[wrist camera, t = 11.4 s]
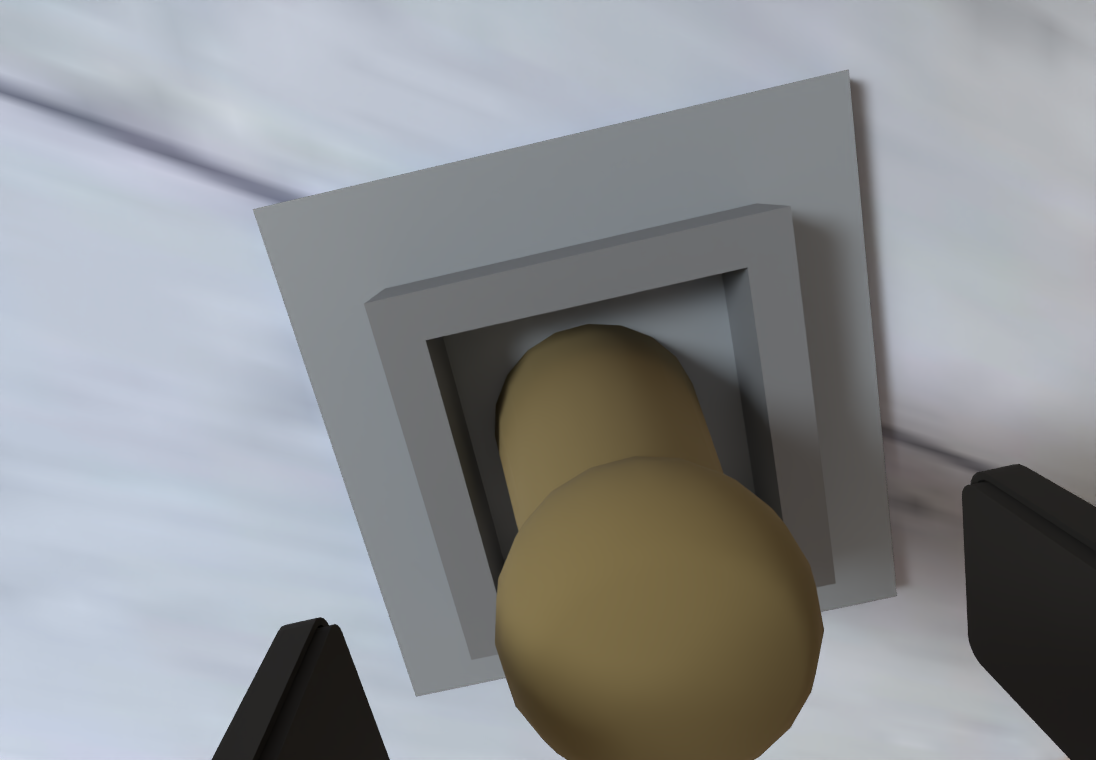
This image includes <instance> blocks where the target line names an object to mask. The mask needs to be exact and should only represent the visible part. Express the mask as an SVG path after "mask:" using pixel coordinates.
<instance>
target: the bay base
mask: <svg viewBox="0 0 1096 760" xmlns="http://www.w3.org/2000/svg"><path fill="white" fill-rule="evenodd" d="M253 211H254V214H255V217H256V220H257V223H258V226H259V229H260V232H261V235H262V238H263V241H264V244H265V247H266V250H267V253H268V256H269V259H270V262H271V265H272V268H273V271H274V274H275V277H276V280H277V283H278V286H279V289H280V292H281V295H282V298H283V301H284V304H285V307H286V310H287V313H288V316H289V319H290V322H291V325H292V328H293V331H294V334H295V337H296V340H297V343H298V346H299V349H300V352H301V355H302V358H303V361H304V364H305V367H306V370H307V373H308V376H309V378H310V381H311V384H312V387H313V390H314V393H315V396H316V399H317V402H318V405H319V408H320V411H321V414H322V417H323V420H324V423H325V426H326V429H327V432H328V435H329V438H330V441H331V444H332V447H333V450H334V453H335V456H336V459H337V462H338V465H339V468H340V471H341V474H342V477H343V480H344V483H345V486H346V489H347V492H348V495H349V498H350V501H351V504H352V507H353V510H354V513H355V516H356V519H357V522H358V525H359V528H360V531H361V534H362V537H363V540H364V543H365V546H366V549H367V552H368V555H369V558H370V561H371V564H372V567H373V570H374V572H375V575H376V578H377V581H378V584H379V587H380V590H381V593H382V596H383V599H384V602H385V605H386V608H387V611H388V614H389V617H390V620H391V623H392V626H393V629H394V632H395V635H396V638H397V641H398V644H399V647H400V650H401V653H402V656H403V659H404V662H405V665H406V668H407V671H408V674H409V677H410V680H411V683H412V686H413V689H414V692H415V695H416V697H417V696H421V695H426V694H431V693H436V692H440V691H445V690H450V689H455V688H460V687H464V686H469V685H474V684H479V683H484V682H488V681H493V680H498V679H503V678H506V677H505V674H504V671H503V668H502V665H501V662H500V658H499V655H498V652H497V649H496V646H495V624H496V598H497V588H498V578H499V576H500V573H501V571H502V568H503V566H504V564H505V561H506V559H507V556H508V554H509V551H510V549H511V546H512V544H513V542H514V539H515V537H516V535H517V533H518V527H517V523H516V519H515V515H514V511H513V507H512V503H511V499H510V495H509V491H508V487H507V483H506V479H505V475H504V471H503V467H502V463H501V459H500V455H499V451H498V447H497V443H496V439H495V411H496V403H497V400H498V398H499V395H500V392H501V390H502V387H503V384H504V382H505V379H506V377H507V375H508V374H509V372H510V371H511V370H512V369H513V367H514V366H515V365H516V364H517V363H518V361H519V360H520V359H521V358H522V356H523V355H524V354H525V353H526V352H527V350H529V349H531V348H532V347H534V346H535V345H537V344H538V343H540V342H541V341H543V340H545V339H546V338H548V337H549V336H551V335H552V334H554V333H556V332H559V331H563V330H567V329H570V328H574V327H578V326H581V325H585V324H603V325H621V326H624V327H627V328H629V329H632V330H635V331H637V332H640V333H643V334H645V335H648V336H651V337H652V338H654V339H655V340H656V341H657V342H659V343H660V344H661V345H662V346H663V347H665V348H666V349H667V350H668V351H670V352H671V353H672V354H673V355H674V356H676V357H677V359H678V361H679V362H680V364H681V365H682V367H683V369H684V370H685V372H686V374H687V375H688V377H689V378H690V380H691V382H692V383H693V386H694V389H695V392H696V395H697V398H698V401H699V404H700V407H701V409H702V412H703V415H704V418H705V421H706V424H707V427H708V430H709V433H710V436H711V438H712V441H713V444H714V447H715V450H716V453H717V456H718V459H719V462H720V464H721V467H722V470H723V473H724V474H725V475H727V476H729V477H731V478H733V479H735V480H737V481H738V482H739V483H741V484H742V485H743V486H744V487H746V488H747V489H748V490H750V491H751V492H752V493H753V494H755V495H756V496H757V497H758V498H760V499H761V500H762V501H764V502H765V503H766V504H767V505H769V506H770V507H771V508H772V509H773V510H774V511H775V512H776V514H777V515H778V516H779V517H780V519H781V520H782V521H783V522H784V524H785V525H786V526H787V528H788V529H789V531H790V533H791V534H792V536H793V538H794V539H795V541H796V542H797V544H798V546H799V547H800V549H801V551H802V552H803V554H804V555H805V557H806V559H807V560H808V562H809V564H810V566H811V570H812V574H813V577H814V581H815V584H816V588H817V594H818V599H819V605H820V611H821V612H823V611H828V610H833V609H837V608H842V607H847V606H852V605H857V604H861V603H866V602H871V601H876V600H880V599H885V598H890V597H895V596H897V592H896V581H895V570H894V559H893V548H892V537H891V526H890V516H889V505H888V494H887V483H886V472H885V461H884V450H883V439H882V428H881V417H880V406H879V395H878V384H877V373H876V362H875V351H874V341H873V330H872V319H871V308H870V297H869V286H868V275H867V264H866V253H865V242H864V231H863V220H862V209H861V198H860V187H859V176H858V165H857V155H856V144H855V133H854V122H853V111H852V100H851V89H850V78H849V70H844V71H840V72H836V73H832V74H827V75H823V76H819V77H815V78H810V79H806V80H802V81H798V82H793V83H789V84H785V85H781V86H776V87H772V88H768V89H764V90H759V91H755V92H751V93H746V94H742V95H738V96H734V97H729V98H725V99H721V100H717V101H712V102H708V103H704V104H700V105H695V106H691V107H687V108H683V109H678V110H674V111H670V112H666V113H661V114H657V115H653V116H649V117H644V118H640V119H636V120H631V121H627V122H623V123H619V124H614V125H610V126H606V127H602V128H597V129H593V130H589V131H585V132H580V133H576V134H572V135H568V136H563V137H559V138H555V139H551V140H546V141H542V142H538V143H533V144H529V145H525V146H521V147H516V148H512V149H508V150H504V151H499V152H495V153H491V154H487V155H482V156H478V157H474V158H470V159H465V160H461V161H457V162H453V163H448V164H444V165H440V166H436V167H431V168H427V169H423V170H418V171H414V172H410V173H406V174H401V175H397V176H393V177H389V178H384V179H380V180H376V181H372V182H367V183H363V184H359V185H355V186H350V187H346V188H342V189H338V190H333V191H329V192H325V193H321V194H316V195H312V196H308V197H303V198H299V199H295V200H291V201H286V202H282V203H278V204H274V205H269V206H265V207H261V208H257V209H253Z"/></svg>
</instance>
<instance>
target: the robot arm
mask: <svg viewBox="0 0 1096 760" xmlns="http://www.w3.org/2000/svg"><path fill="white" fill-rule="evenodd" d="M962 506H963V529H964V552H965V574H966V597H967V620H968V638H969V643H970V646H971V649H972V651H973V653H974V655H975V657H976V658H977V660H978V661H979V663H980V664H981V665H982V666H983V667H984V668H985V670H986V671H987V672H988V673H989V674H990V675H991V676H992V677H993V678H994V679H995V680H996V681H997V682H998V683H999V684H1000V685H1001V687H1002V688H1003V689H1004V690H1005V691H1006V692H1007V693H1008V694H1009V695H1010V696H1011V697H1012V698H1013V699H1014V700H1015V701H1016V702H1017V703H1018V705H1019V706H1020V707H1021V708H1022V709H1023V710H1024V711H1025V712H1026V713H1027V714H1028V715H1029V716H1030V717H1031V718H1032V719H1033V720H1034V721H1035V723H1036V724H1037V725H1038V726H1039V727H1040V728H1041V729H1042V730H1043V731H1044V732H1045V733H1046V734H1047V735H1048V736H1049V737H1050V738H1051V739H1052V741H1053V742H1054V743H1055V744H1056V745H1057V746H1058V747H1059V748H1060V749H1061V750H1062V751H1063V752H1064V753H1065V754H1066V755H1067V756H1068V758H1069V759H1070V760H1096V507H1095V506H1093V505H1091V504H1089V503H1088V502H1086V501H1084V500H1082V499H1081V498H1079V497H1077V496H1076V495H1074V494H1072V493H1070V492H1069V491H1067V490H1065V489H1063V488H1062V487H1060V486H1058V485H1057V484H1055V483H1053V482H1051V481H1050V480H1048V479H1046V478H1044V477H1043V476H1041V475H1039V474H1037V473H1036V472H1034V471H1032V470H1031V469H1029V468H1027V467H1025V466H1023V465H1020V464H1015V465H1010V466H1005V467H1000V468H996V469H991V470H987V471H982V472H978V473H976V474H975V475H974V476H973V478H972V480H971V485H967V486H965V487H964V489H963V491H962ZM212 760H390V759H389V757H388V754H387V751H386V749H385V746H384V743H383V741H382V738H381V735H380V732H379V730H378V727H377V724H376V722H375V719H374V716H373V714H372V711H371V708H370V706H369V703H368V700H367V698H366V695H365V692H364V690H363V687H362V684H361V681H360V679H359V676H358V673H357V671H356V668H355V665H354V663H353V660H352V657H351V655H350V652H349V649H348V647H347V644H346V641H345V638H344V636H343V633H342V631H341V629H340V627H339V626H338V625H336V624H334V625H328V623H327V621H326V620H325V619H324V618H321V617H319V618H315V619H310V620H306V621H301V622H297V623H292V624H287V625H284V626H282V627H281V628H280V630H279V631H278V633H277V635H276V637H275V638H274V640H273V642H272V644H271V646H270V648H269V650H268V652H267V654H266V656H265V658H264V660H263V662H262V664H261V665H260V667H259V669H258V671H257V673H256V675H255V677H254V679H253V681H252V683H251V685H250V687H249V689H248V691H247V692H246V694H245V696H244V698H243V700H242V702H241V704H240V706H239V708H238V710H237V712H236V714H235V716H234V718H233V719H232V721H231V723H230V725H229V727H228V729H227V731H226V733H225V735H224V737H223V739H222V741H221V743H220V745H219V746H218V748H217V750H216V752H215V754H214V756H213V758H212Z"/></svg>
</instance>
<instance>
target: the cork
mask: <svg viewBox="0 0 1096 760" xmlns="http://www.w3.org/2000/svg"><path fill="white" fill-rule="evenodd" d="M495 439H496V443H497V447H498V451H499V455H500V459H501V463H502V467H503V471H504V475H505V479H506V483H507V487H508V491H509V495H510V499H511V503H512V507H513V511H514V515H515V519H516V523H517V527H518V533H517V535H516V537H515V539H514V542H513V544H512V546H511V549H510V551H509V554H508V556H507V559H506V561H505V564H504V566H503V568H502V571H501V573H500V576H499V578H498V588H497V598H496V624H495V646H496V649H497V652H498V655H499V658H500V662H501V665H502V668H503V671H504V674H505V677H506V679H507V682H508V685H509V688H510V691H511V694H512V697H513V700H514V703H515V706H516V707H517V708H518V710H519V711H520V712H521V713H522V714H523V716H524V717H525V718H526V719H527V721H528V722H529V723H530V724H531V726H532V727H533V728H534V729H535V730H536V732H537V733H538V734H539V735H540V737H541V738H542V739H543V740H544V741H545V742H546V743H547V744H548V745H549V746H550V747H551V748H552V749H553V750H554V751H555V752H556V753H557V754H559V755H561V756H562V757H564V758H565V759H567V760H754V759H756V758H758V757H760V756H761V755H762V754H763V753H764V752H765V751H766V750H767V749H768V748H769V747H770V746H771V745H772V744H773V743H775V742H776V741H777V740H778V739H779V738H780V737H781V736H782V735H783V734H784V733H785V732H786V731H787V730H788V729H790V728H791V726H792V724H793V722H794V721H795V719H796V717H797V715H798V714H799V712H800V710H801V709H802V707H803V705H804V703H805V702H806V700H807V698H808V696H809V695H810V693H811V690H812V686H813V682H814V678H815V674H816V670H817V664H818V659H819V654H820V649H821V643H822V638H823V633H824V627H823V622H822V616H821V611H820V605H819V599H818V594H817V588H816V584H815V581H814V577H813V574H812V570H811V566H810V564H809V562H808V560H807V559H806V557H805V555H804V554H803V552H802V551H801V549H800V547H799V546H798V544H797V542H796V541H795V539H794V538H793V536H792V534H791V533H790V531H789V529H788V528H787V526H786V525H785V524H784V522H783V521H782V520H781V519H780V517H779V516H778V515H777V514H776V512H775V511H774V510H773V509H772V508H771V507H770V506H769V505H767V504H766V503H765V502H764V501H762V500H761V499H760V498H758V497H757V496H756V495H755V494H753V493H752V492H751V491H750V490H748V489H747V488H746V487H744V486H743V485H742V484H741V483H739V482H738V481H737V480H735V479H733V478H731V477H729V476H727V475H725V474H724V473H723V470H722V467H721V464H720V462H719V459H718V456H717V453H716V450H715V447H714V444H713V441H712V438H711V436H710V433H709V430H708V427H707V424H706V421H705V418H704V415H703V412H702V409H701V407H700V404H699V401H698V398H697V395H696V392H695V389H694V386H693V383H692V382H691V380H690V378H689V377H688V375H687V374H686V372H685V370H684V369H683V367H682V365H681V364H680V362H679V361H678V359H677V357H676V356H674V355H673V354H672V353H671V352H670V351H668V350H667V349H666V348H665V347H663V346H662V345H661V344H660V343H659V342H657V341H656V340H655V339H654V338H652V337H651V336H648V335H645V334H643V333H640V332H637V331H635V330H632V329H629V328H627V327H624V326H621V325H603V324H585V325H581V326H578V327H574V328H570V329H567V330H563V331H559V332H556V333H554V334H552V335H551V336H549V337H548V338H546V339H545V340H543V341H541V342H540V343H538V344H537V345H535V346H534V347H532V348H531V349H529V350H527V352H526V353H525V354H524V355H523V356H522V358H521V359H520V360H519V361H518V363H517V364H516V365H515V366H514V367H513V369H512V370H511V371H510V372H509V374H508V375H507V377H506V379H505V382H504V384H503V387H502V390H501V392H500V395H499V398H498V400H497V403H496V411H495Z"/></svg>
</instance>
